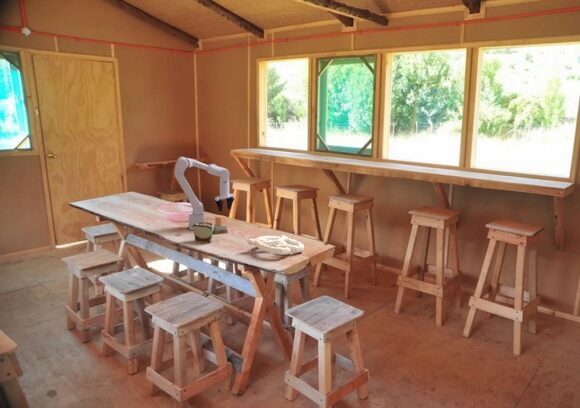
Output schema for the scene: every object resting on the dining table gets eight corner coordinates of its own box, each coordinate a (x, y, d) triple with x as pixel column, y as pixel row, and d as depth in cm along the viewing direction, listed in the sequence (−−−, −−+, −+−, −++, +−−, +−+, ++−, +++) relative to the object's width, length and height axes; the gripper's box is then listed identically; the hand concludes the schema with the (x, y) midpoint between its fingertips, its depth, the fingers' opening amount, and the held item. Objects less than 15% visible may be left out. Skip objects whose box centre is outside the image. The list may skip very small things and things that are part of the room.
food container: (218, 240, 244) (217, 223, 242) (212, 243, 239) (212, 225, 237) (198, 237, 248) (198, 220, 246) (192, 240, 243) (192, 223, 240)
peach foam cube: (220, 226, 256) (220, 217, 255) (215, 224, 258) (215, 216, 257) (225, 224, 260) (225, 216, 259) (220, 223, 262) (220, 215, 261)
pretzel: (281, 242, 248) (282, 231, 247) (311, 254, 232) (313, 242, 231) (241, 246, 229) (243, 234, 228) (271, 260, 212) (273, 247, 211)
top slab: (216, 230, 256) (216, 226, 256) (214, 227, 262) (214, 223, 261) (226, 229, 258) (226, 225, 258) (224, 227, 264) (224, 222, 263)
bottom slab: (215, 235, 256) (215, 230, 255) (213, 231, 262) (213, 227, 262) (227, 234, 258) (227, 229, 258) (225, 230, 265) (224, 226, 264)
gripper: (221, 191, 258) (221, 213, 261) (237, 187, 270) (237, 209, 273) (212, 189, 262) (212, 211, 265) (229, 186, 273) (229, 207, 277)
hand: (224, 210), depth 269 cm, fingers open, 7 cm apart
